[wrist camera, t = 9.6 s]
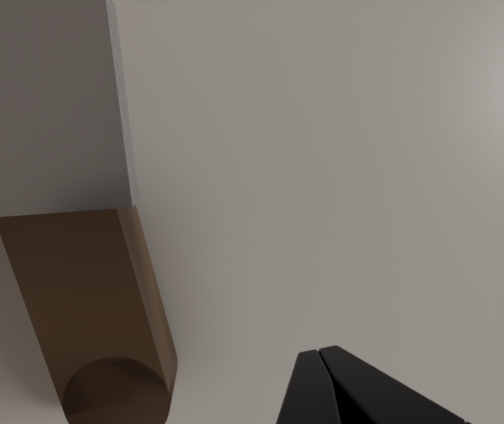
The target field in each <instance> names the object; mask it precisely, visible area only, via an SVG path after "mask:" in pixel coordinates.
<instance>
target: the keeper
mask: <svg viewBox="0 0 504 424" xmlns="http://www.w3.org/2000/svg"><path fill="white" fill-rule="evenodd" d="M138 201H139V192H138V184H137V176H136V168H135V160H134V152H133V144H132V136H131V128H130V120H129V112H128V104H127V96H126V88H125V80H124V72H123V64H122V56H121V48H120V40H119V32H118V24H117V16H116V8H115V3H114V2H113V1H112V0H0V217H5V216H19V215H33V214H46V213H60V212H74V211H87V210H101V209H115V208H129V207H133V206H134V205H135V204H136V203H137V202H138Z"/></svg>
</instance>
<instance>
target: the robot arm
mask: <svg viewBox="0 0 504 424" xmlns="http://www.w3.org/2000/svg"><path fill="white" fill-rule="evenodd" d="M276 424H472V423H470V422H465V420H464V419H463V418H461V417H459V416H458V415H456V414H454V413H453V412H451V411H449V410H447V409H446V408H444V407H442V406H441V405H439V404H437V403H435V402H434V401H432V400H430V399H429V398H427V397H425V396H423V395H422V394H420V393H418V392H417V391H415V390H413V389H411V388H410V387H408V386H406V385H405V384H403V383H401V382H399V381H398V380H396V379H394V378H393V377H391V376H389V375H388V374H386V373H384V372H382V371H381V370H379V369H377V368H376V367H374V366H372V365H370V364H369V363H367V362H365V361H364V360H362V359H360V358H358V357H357V356H355V355H353V354H352V353H350V352H348V351H346V350H345V349H343V348H341V347H340V346H337V345H333V346H328V347H323V348H320V349H319V351H317V350H316V349H313V350H308V351H303V352H299V353H298V355H297V358H296V361H295V364H294V368H293V371H292V374H291V377H290V380H289V383H288V387H287V390H286V393H285V396H284V399H283V402H282V405H281V409H280V412H279V415H278V418H277V421H276Z"/></svg>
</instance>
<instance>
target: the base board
mask: <svg viewBox="0 0 504 424" xmlns="http://www.w3.org/2000/svg"><path fill="white" fill-rule="evenodd" d="M112 1H113V2H114V3H115V8H116V16H117V24H118V32H119V40H120V48H121V56H122V64H123V72H124V80H125V88H126V96H127V104H128V112H129V120H130V128H131V136H132V144H133V152H134V160H135V168H136V176H137V184H138V192H139V201H138V202H137V203H136V207H137V211H138V215H139V218H140V222H141V226H142V229H143V233H144V237H145V240H146V244H147V248H148V251H149V255H150V259H151V262H152V266H153V270H154V273H155V277H156V281H157V284H158V288H159V292H160V295H161V299H162V303H163V306H164V310H165V314H166V317H167V321H168V325H169V328H170V332H171V336H172V339H173V343H174V347H175V350H176V354H177V360H178V367H177V373H176V379H175V384H174V390H173V395H172V401H171V406H170V411H169V415H168V418H167V421H166V423H165V424H276V421H277V418H278V415H279V412H280V409H281V405H282V402H283V399H284V396H285V393H286V390H287V387H288V383H289V380H290V377H291V374H292V371H293V368H294V364H295V361H296V358H297V355H298V353H299V352H303V351H308V350H313V349H316V350H317V351H319V349H320V348H323V347H328V346H333V345H337V346H340V347H341V348H343V349H345V350H346V351H348V352H350V353H352V354H353V355H355V356H357V357H358V358H360V359H362V360H364V361H365V362H367V363H369V364H370V365H372V366H374V367H376V368H377V369H379V370H381V371H382V372H384V373H386V374H388V375H389V376H391V377H393V378H394V379H396V380H398V381H399V382H401V383H403V384H405V385H406V386H408V387H410V388H411V389H413V390H415V391H417V392H418V393H420V394H422V395H423V396H425V397H427V398H429V399H430V400H432V401H434V402H435V403H437V404H439V405H441V406H442V407H444V408H446V409H447V410H449V411H451V412H453V413H454V414H456V415H458V416H459V417H461V418H463V419H464V420H465V422H470V423H472V424H504V0H112ZM0 424H69V423H68V422H67V420H66V417H65V415H64V412H63V409H62V406H61V404H60V401H59V398H58V395H57V393H56V390H55V387H54V384H53V381H52V379H51V376H50V373H49V370H48V367H47V365H46V362H45V359H44V356H43V353H42V351H41V348H40V345H39V342H38V339H37V337H36V334H35V331H34V328H33V325H32V323H31V320H30V317H29V314H28V311H27V309H26V306H25V303H24V300H23V297H22V295H21V292H20V289H19V286H18V283H17V281H16V278H15V275H14V272H13V269H12V267H11V264H10V261H9V258H8V255H7V253H6V250H5V247H4V244H3V241H2V239H1V236H0Z"/></svg>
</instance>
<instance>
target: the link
mask: <svg viewBox="0 0 504 424" xmlns="http://www.w3.org/2000/svg"><path fill="white" fill-rule="evenodd" d="M0 236H1V239H2V241H3V244H4V247H5V250H6V253H7V255H8V258H9V261H10V264H11V267H12V269H13V272H14V275H15V278H16V281H17V283H18V286H19V289H20V292H21V295H22V297H23V300H24V303H25V306H26V309H27V311H28V314H29V317H30V320H31V323H32V325H33V328H34V331H35V334H36V337H37V339H38V342H39V345H40V348H41V351H42V353H43V356H44V359H45V362H46V365H47V367H48V370H49V373H50V376H51V379H52V381H53V384H54V387H55V390H56V393H57V395H58V398H59V401H60V404H61V406H62V409H63V412H64V415H65V417H66V420H67V422H68V423H69V424H165V423H166V421H167V418H168V415H169V411H170V406H171V401H172V395H173V390H174V384H175V379H176V373H177V367H178V360H177V354H176V350H175V347H174V343H173V339H172V336H171V332H170V328H169V325H168V321H167V317H166V314H165V310H164V306H163V303H162V299H161V295H160V292H159V288H158V284H157V281H156V277H155V273H154V270H153V266H152V262H151V259H150V255H149V251H148V248H147V244H146V240H145V237H144V233H143V229H142V226H141V222H140V218H139V215H138V211H137V207H136V204H135V205H134V206H133V207H129V208H115V209H101V210H87V211H74V212H60V213H46V214H33V215H19V216H5V217H0Z"/></svg>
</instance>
